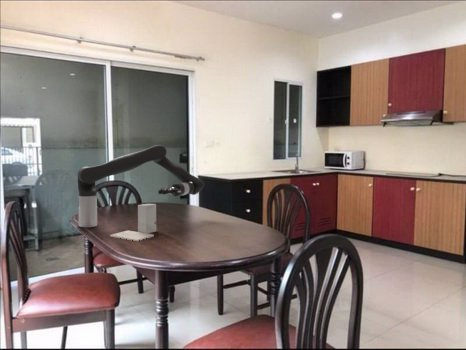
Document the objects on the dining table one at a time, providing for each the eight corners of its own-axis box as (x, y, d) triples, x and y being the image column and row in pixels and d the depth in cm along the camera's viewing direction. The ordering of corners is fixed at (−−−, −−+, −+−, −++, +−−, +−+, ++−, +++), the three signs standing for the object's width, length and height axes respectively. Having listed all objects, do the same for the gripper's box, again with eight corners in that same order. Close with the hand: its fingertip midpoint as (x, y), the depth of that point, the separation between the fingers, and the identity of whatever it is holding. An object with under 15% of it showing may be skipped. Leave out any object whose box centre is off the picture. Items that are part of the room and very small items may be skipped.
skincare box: (146, 234, 193) (145, 205, 192) (137, 233, 196) (137, 204, 195) (156, 231, 201) (156, 203, 200) (148, 230, 204) (148, 202, 203)
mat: (110, 236, 188) (110, 235, 188) (127, 231, 199) (127, 230, 199) (137, 241, 179) (137, 239, 179) (154, 236, 190) (154, 234, 190)
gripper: (170, 182, 225) (151, 184, 210) (189, 183, 218) (170, 186, 203) (170, 194, 225) (151, 198, 210) (189, 196, 219) (170, 200, 203)
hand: (160, 192), depth 207 cm, fingers closed
